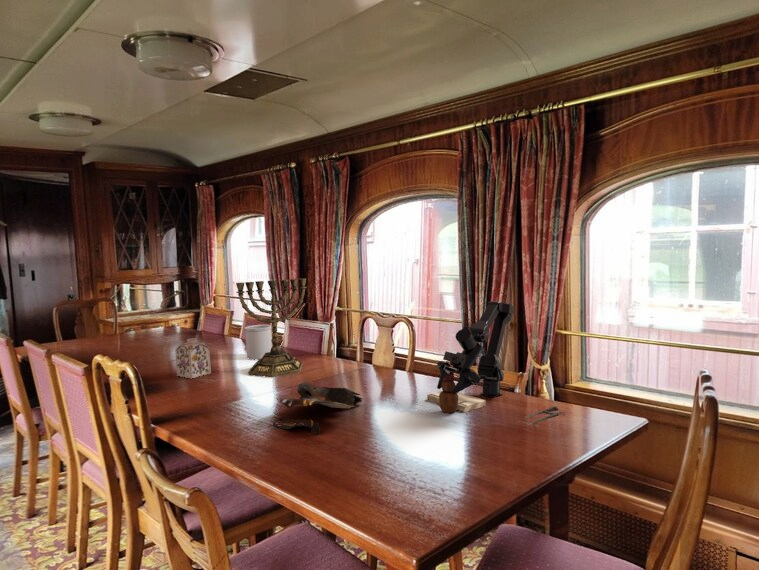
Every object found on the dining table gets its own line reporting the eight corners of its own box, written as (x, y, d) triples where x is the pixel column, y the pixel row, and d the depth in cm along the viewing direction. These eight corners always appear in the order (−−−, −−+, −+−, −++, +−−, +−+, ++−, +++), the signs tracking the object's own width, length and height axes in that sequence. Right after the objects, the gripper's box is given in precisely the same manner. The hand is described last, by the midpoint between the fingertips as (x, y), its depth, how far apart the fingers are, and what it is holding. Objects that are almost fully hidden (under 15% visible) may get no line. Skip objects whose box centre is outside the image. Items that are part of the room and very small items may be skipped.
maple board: (448, 394, 204) (448, 388, 204) (485, 405, 188) (485, 400, 187) (427, 399, 197) (427, 394, 197) (464, 412, 181) (464, 406, 181)
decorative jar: (211, 373, 250) (209, 337, 249) (191, 379, 241) (189, 341, 239) (196, 371, 257) (194, 336, 256) (175, 376, 247) (173, 340, 246)
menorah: (298, 360, 274) (295, 277, 271) (320, 368, 254) (317, 279, 250) (232, 371, 254) (227, 281, 251) (250, 381, 233) (245, 284, 230)
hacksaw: (554, 409, 183) (554, 405, 183) (579, 416, 174) (579, 412, 174) (506, 422, 170) (506, 418, 170) (530, 431, 162) (530, 427, 161)
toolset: (315, 392, 208) (364, 356, 201) (339, 435, 203) (390, 399, 195) (254, 407, 172) (310, 363, 164) (281, 459, 166) (340, 417, 158)
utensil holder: (241, 360, 280) (239, 328, 279) (252, 354, 295) (251, 324, 294) (266, 360, 278) (265, 328, 277) (276, 354, 293) (275, 324, 291)
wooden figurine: (459, 409, 184) (458, 369, 183) (456, 414, 178) (456, 372, 177) (441, 408, 186) (440, 368, 185) (438, 413, 181) (437, 371, 180)
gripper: (440, 339, 190) (416, 372, 185) (473, 346, 174) (448, 383, 169) (456, 357, 195) (434, 390, 190) (490, 366, 179) (467, 402, 174)
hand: (445, 391), depth 181 cm, fingers open, 8 cm apart
